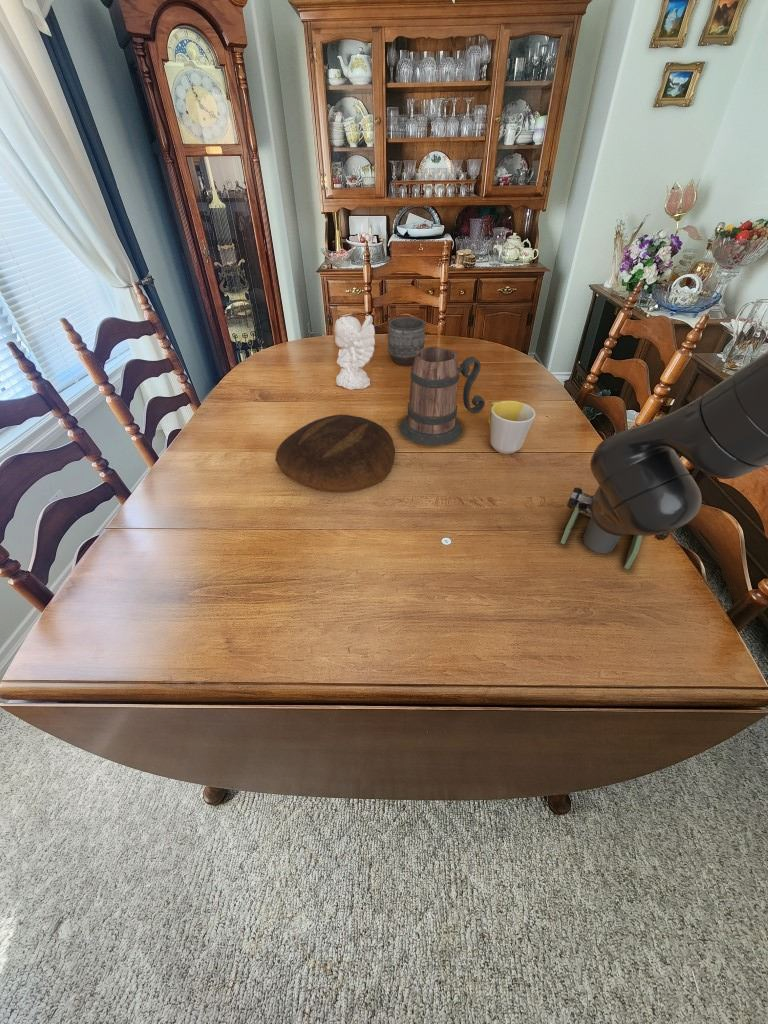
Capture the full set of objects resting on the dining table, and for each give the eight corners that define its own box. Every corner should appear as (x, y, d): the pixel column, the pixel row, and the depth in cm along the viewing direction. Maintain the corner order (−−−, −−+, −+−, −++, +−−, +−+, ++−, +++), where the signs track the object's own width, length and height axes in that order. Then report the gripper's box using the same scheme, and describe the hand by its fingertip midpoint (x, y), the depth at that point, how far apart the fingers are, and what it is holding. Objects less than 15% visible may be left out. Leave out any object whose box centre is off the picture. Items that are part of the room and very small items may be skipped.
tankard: (414, 450, 107) (417, 374, 93) (390, 418, 119) (390, 346, 105) (496, 433, 113) (510, 358, 99) (466, 404, 124) (475, 334, 111)
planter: (430, 360, 148) (432, 321, 139) (408, 371, 141) (409, 332, 133) (403, 351, 154) (404, 314, 145) (380, 361, 147) (380, 323, 139)
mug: (532, 457, 104) (543, 419, 97) (492, 461, 103) (499, 423, 96) (512, 428, 114) (520, 392, 107) (475, 431, 113) (481, 395, 106)
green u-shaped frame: (639, 531, 85) (649, 514, 82) (628, 569, 78) (638, 553, 75) (576, 508, 90) (582, 492, 87) (560, 543, 83) (566, 526, 80)
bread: (417, 452, 106) (418, 421, 100) (351, 514, 90) (349, 481, 84) (328, 420, 118) (324, 391, 112) (255, 470, 101) (247, 438, 95)
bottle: (619, 554, 81) (652, 492, 71) (588, 553, 81) (616, 492, 71) (608, 532, 85) (637, 471, 75) (578, 531, 85) (603, 471, 75)
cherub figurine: (336, 372, 141) (331, 308, 128) (374, 371, 142) (372, 307, 128) (335, 391, 131) (329, 323, 118) (376, 389, 132) (374, 322, 118)
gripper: (697, 497, 53) (669, 513, 68) (580, 461, 59) (578, 483, 74) (672, 553, 53) (650, 557, 68) (558, 511, 59) (560, 523, 74)
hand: (612, 518), depth 71 cm, fingers open, 8 cm apart
